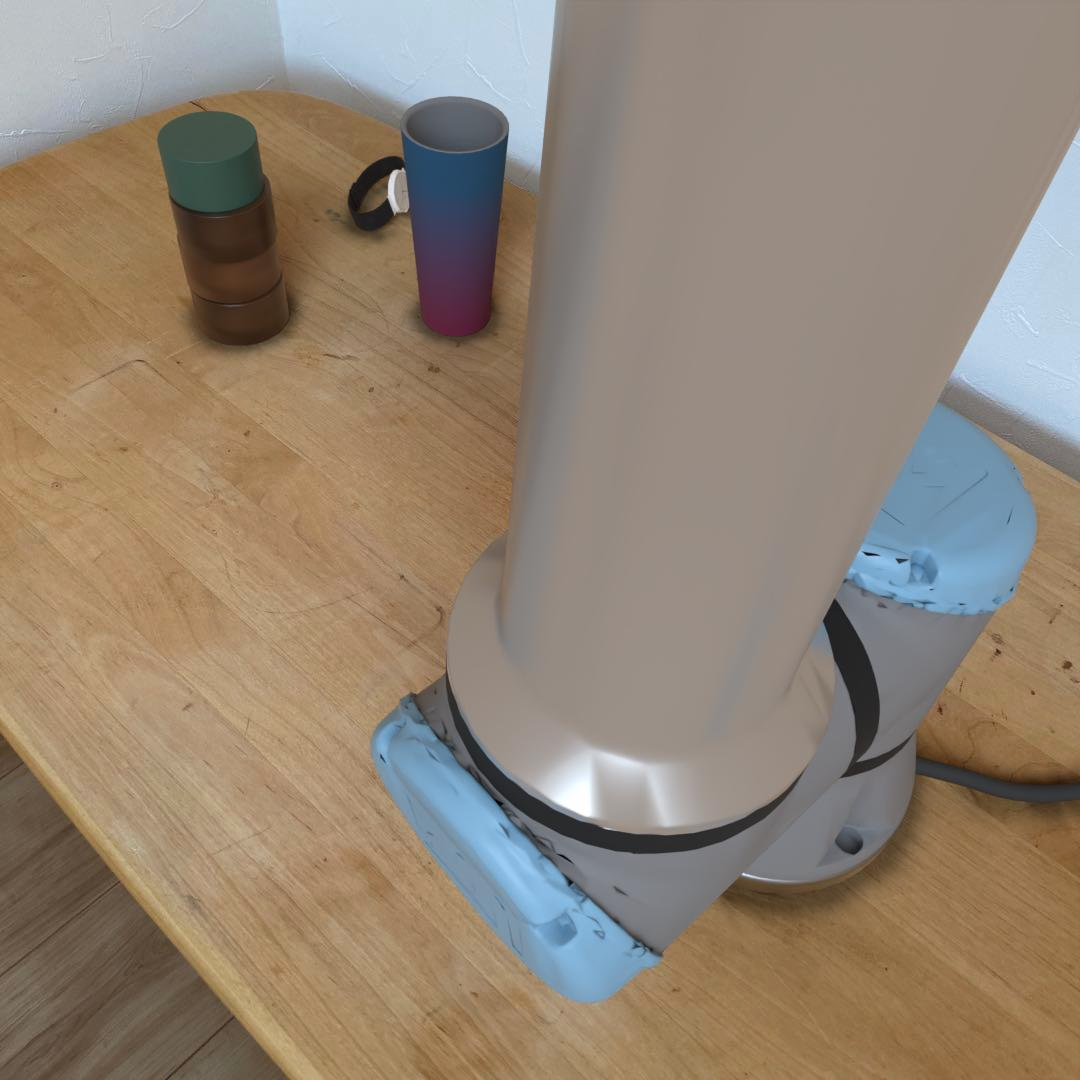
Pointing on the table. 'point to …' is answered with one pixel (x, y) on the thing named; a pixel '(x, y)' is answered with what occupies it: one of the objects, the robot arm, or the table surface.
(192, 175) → the green cylinder
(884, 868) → the table surface
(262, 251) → the brown jar
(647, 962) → the robot arm
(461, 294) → the cup
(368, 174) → the watch
